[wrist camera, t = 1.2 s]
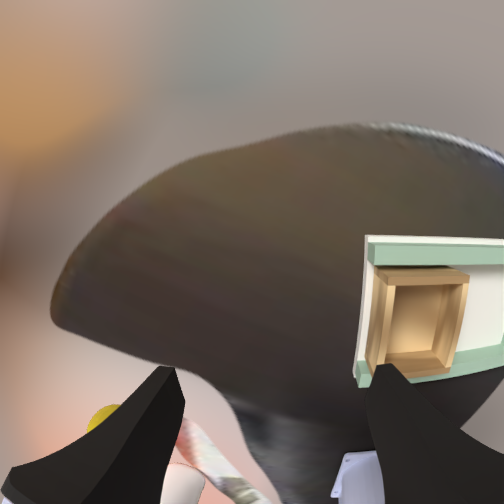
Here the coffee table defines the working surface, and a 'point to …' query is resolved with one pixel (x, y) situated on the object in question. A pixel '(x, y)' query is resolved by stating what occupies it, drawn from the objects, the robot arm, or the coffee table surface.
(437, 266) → the crate
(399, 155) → the coffee table surface
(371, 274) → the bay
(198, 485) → the drinking glass
